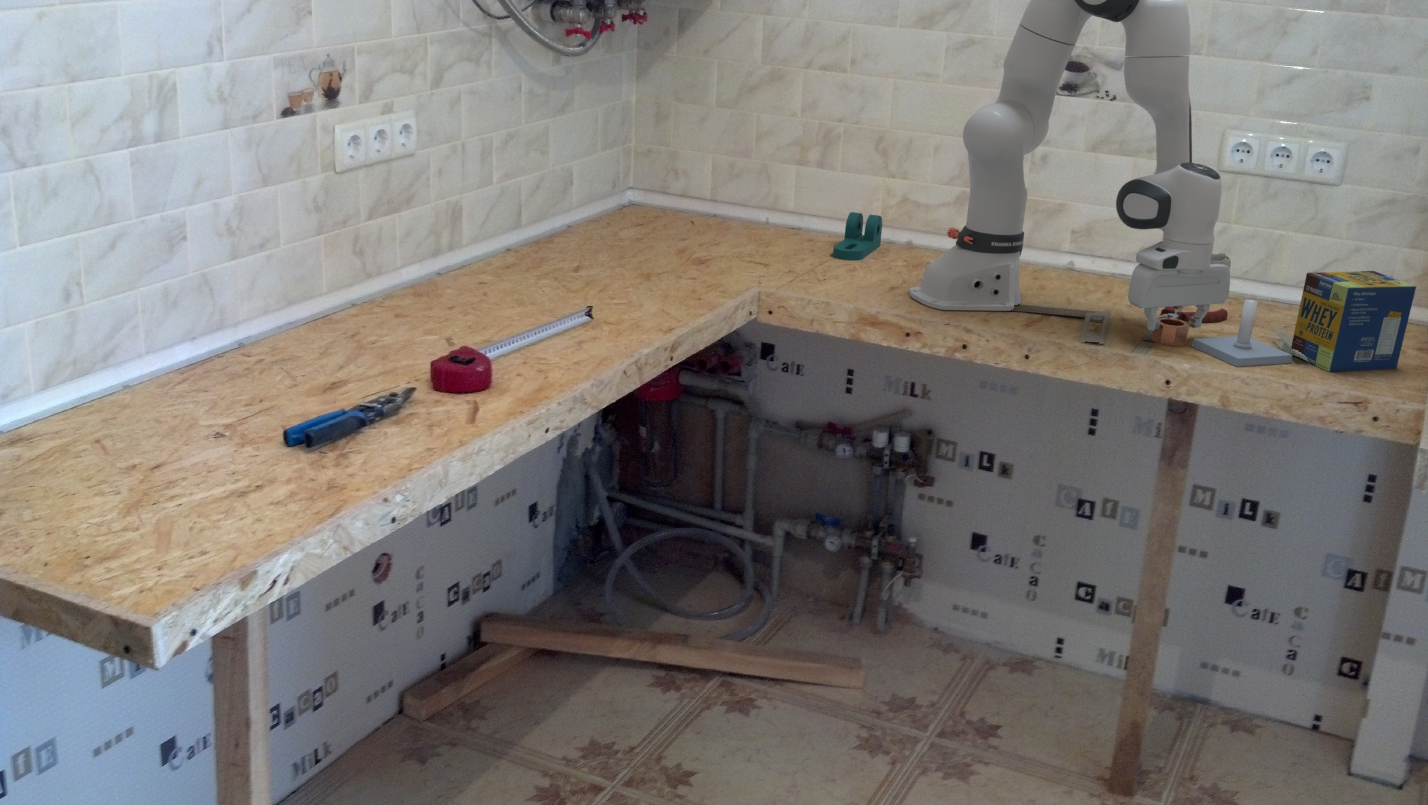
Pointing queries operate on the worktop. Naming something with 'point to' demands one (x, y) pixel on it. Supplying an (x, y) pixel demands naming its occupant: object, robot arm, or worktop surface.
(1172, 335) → the ring
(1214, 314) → the pliers
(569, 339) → the worktop surface
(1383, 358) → the protein box
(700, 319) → the worktop surface
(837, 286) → the worktop surface
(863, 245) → the bracket
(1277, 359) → the shaft block
